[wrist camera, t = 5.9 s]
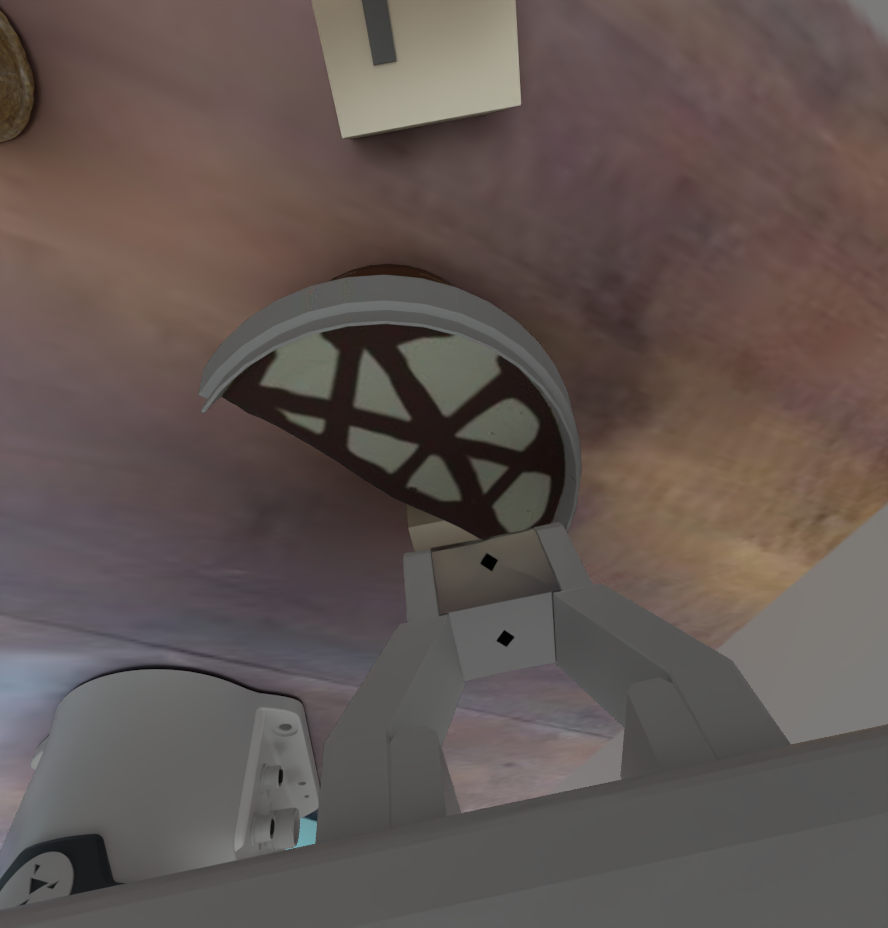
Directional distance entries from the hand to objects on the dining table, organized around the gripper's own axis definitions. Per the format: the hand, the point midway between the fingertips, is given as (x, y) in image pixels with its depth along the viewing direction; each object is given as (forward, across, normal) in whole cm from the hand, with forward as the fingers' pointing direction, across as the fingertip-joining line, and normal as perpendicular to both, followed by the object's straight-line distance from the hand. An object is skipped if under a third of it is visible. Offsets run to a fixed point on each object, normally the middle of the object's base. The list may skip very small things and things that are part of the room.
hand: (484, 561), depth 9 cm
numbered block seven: (+15, -1, -10) cm, 18 cm away
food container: (+15, 0, 0) cm, 15 cm away
